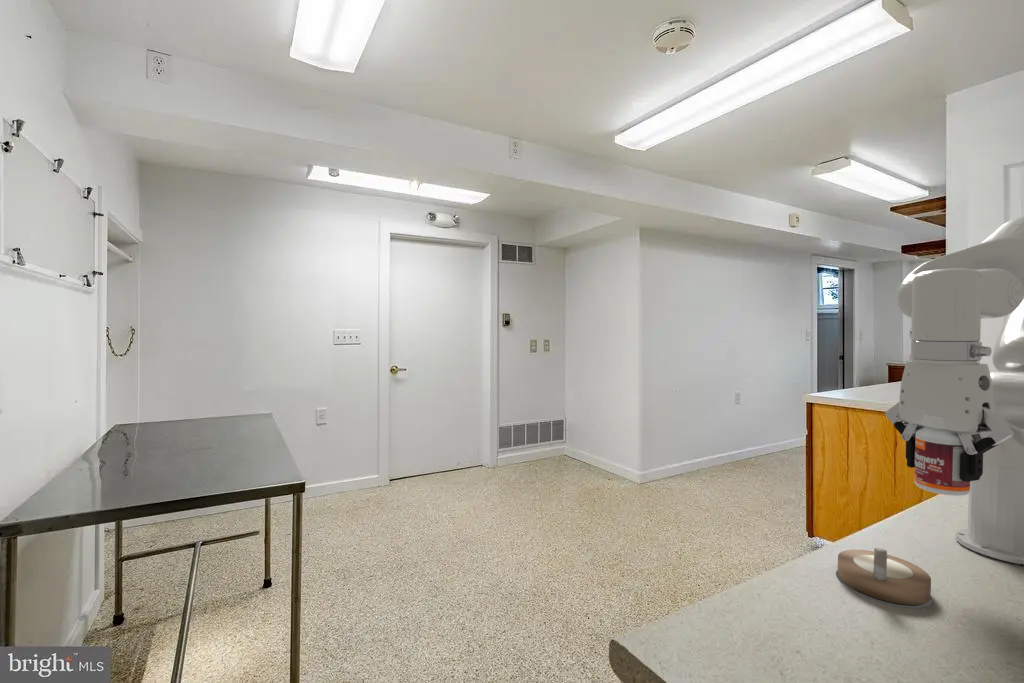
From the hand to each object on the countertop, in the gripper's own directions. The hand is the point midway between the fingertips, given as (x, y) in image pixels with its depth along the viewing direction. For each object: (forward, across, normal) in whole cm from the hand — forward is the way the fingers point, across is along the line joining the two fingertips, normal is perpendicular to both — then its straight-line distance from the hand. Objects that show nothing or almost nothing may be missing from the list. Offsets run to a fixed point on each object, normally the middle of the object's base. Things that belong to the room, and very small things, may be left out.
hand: (941, 471), depth 70 cm
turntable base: (+17, +1, +11) cm, 20 cm away
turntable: (+16, +1, +11) cm, 19 cm away
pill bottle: (+3, 0, 0) cm, 3 cm away
